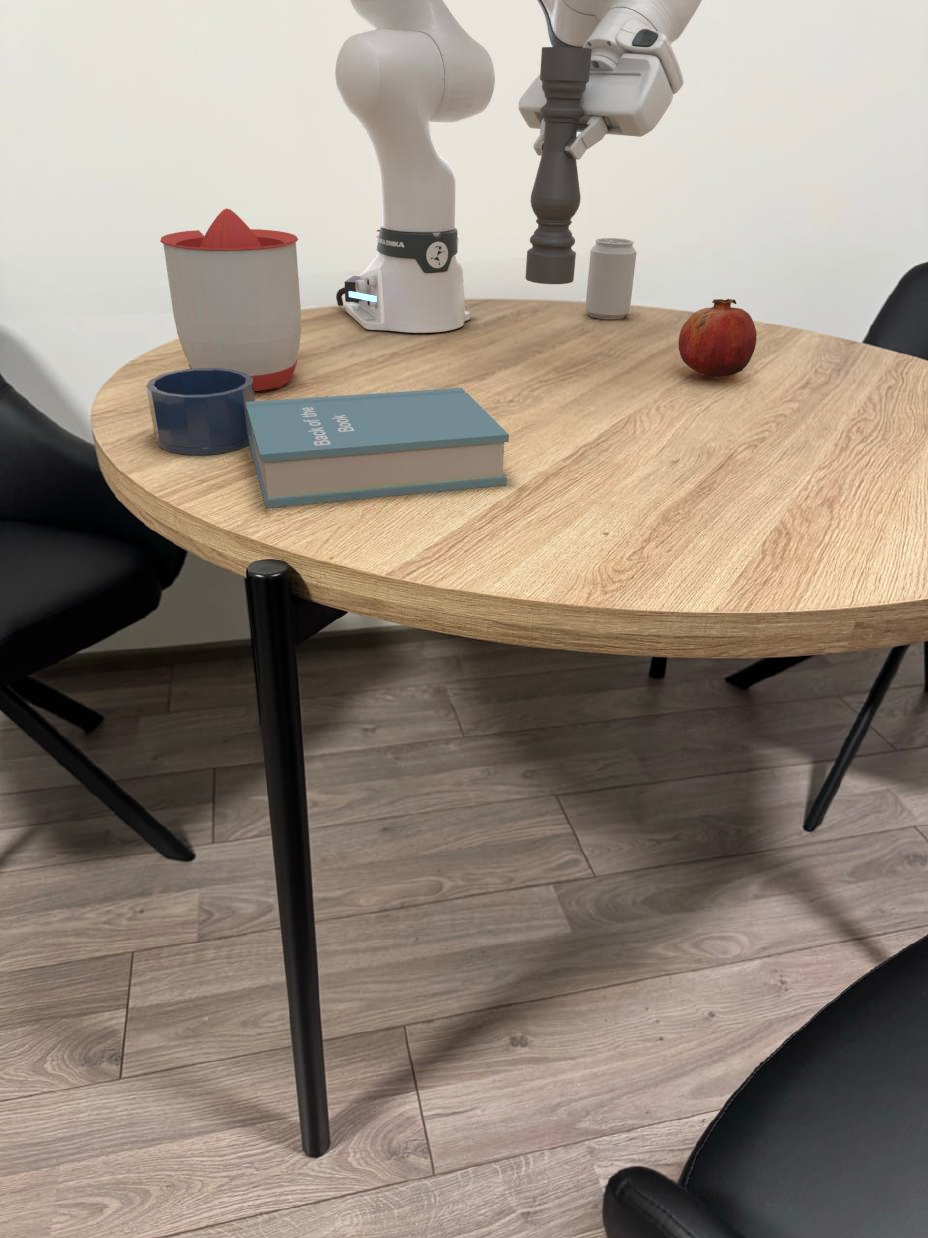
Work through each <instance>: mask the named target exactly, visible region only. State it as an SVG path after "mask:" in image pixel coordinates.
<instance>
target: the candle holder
mask: <svg viewBox="0 0 928 1238" xmlns="http://www.w3.org/2000/svg"><path fill="white" fill-rule="evenodd" d="M591 52H592V49H590V48H573V47H552V46H542V47H541V56H540V73H539V75H540V80H541V81H542V89H543V91H544V94H545V98H546V100H547V102H546V104H545V105H544V106H543V107H542V108H541V109H540V115H541V116H542V117H544V121H545V130H544V145H543V153H542V156H540V161H539V164H538V167H537V172H536V176H535V178H534V182H533V186H532V190H531V194H530V207H531V209H532V212H533V214H534V215H535V217H536V220H535V223H536V224H537V228H536V229H535V230H534V231H533V234H532V235H531V236H530V237H529V243H530V244H531V245H532V247H531V248H529V249H528V250H527V251H526V265H525V280H526V281H527V282H530V283H535V284H542V285H566V284H567V285H569V284H571V283H573V282H574V280H575V268H576V256H577V252H576V251H574V250H573V246H574V245H575V244H576V238H575V236H573V232H572V231H571V230H570V226H571V224H572V223H573V222H572V219H573V217H574V216H575V215H576V214H577V212H578V210H579V208H580V205H581V189H580V180H579V172H578V163H577V159H570V158H569V157H568V155H567V154H566V153H565V146H566V144H568V143H569V140H570V139H571V137H577V136H578V135H577V134H578V132H577V124H578V122H579V119H580V118H582V117H583V116H584V110H583V108H582V107H581V106H580V105H579V100H580V99H581V98H582V95H583V93H584V91H585V90H586V84H587V82H589V75H590V64H591Z"/></svg>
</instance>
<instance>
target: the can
mask: <svg viewBox="0 0 928 1238" xmlns="http://www.w3.org/2000/svg"><path fill="white" fill-rule="evenodd" d="M634 243H635V242H634V240H631V239H627V238H617V237H600V238H597V239H595V244H594V245H593V246H592V248H590V253H589V265H588V274H587V275H588V277H587V285H586V297H585V307H584V309H585V311H586V312H587V313H588V315H589V316H590V317H592V318H595V319H599V320H621V319H624V318H625V317H626V316H627V315H628V314H629V313H630V312H631V303H632V295H633V286H634V279H635V270H636V269H635V268H636V260H637V251H636V249H635V247H634Z"/></svg>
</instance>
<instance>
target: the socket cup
mask: <svg viewBox="0 0 928 1238" xmlns="http://www.w3.org/2000/svg"><path fill="white" fill-rule="evenodd" d="M146 391H147V397H148V398H147V399H148V404H149V409H150V416H151V422H152V427H153V433H154V437H155V440H156V444H157V445H158V447H159V448H160V449H163V450H164V451H166V452H169V453H173V454H179V455H186V456H187V455H188V456H210V455H219V454H225V453H231V452H235V451H239V450H241V449H244V448H247V447H248V446H249V447H250V443H249V436H248V427H247V418H246V408H245V402H252V401H256V396H255V395H256V394H255V391H254V384H253V378H252V377H250V376H249V375H248V374H246V373H243V372H239V371H236V370H231V369H221V368H195V369H190V368H188V369H186V368H185V369H179V370H174V371H170V372H166V373H162V374H159V375H157V376H155V377H153V378H151V379H149V381H148V382H147V384H146Z"/></svg>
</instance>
